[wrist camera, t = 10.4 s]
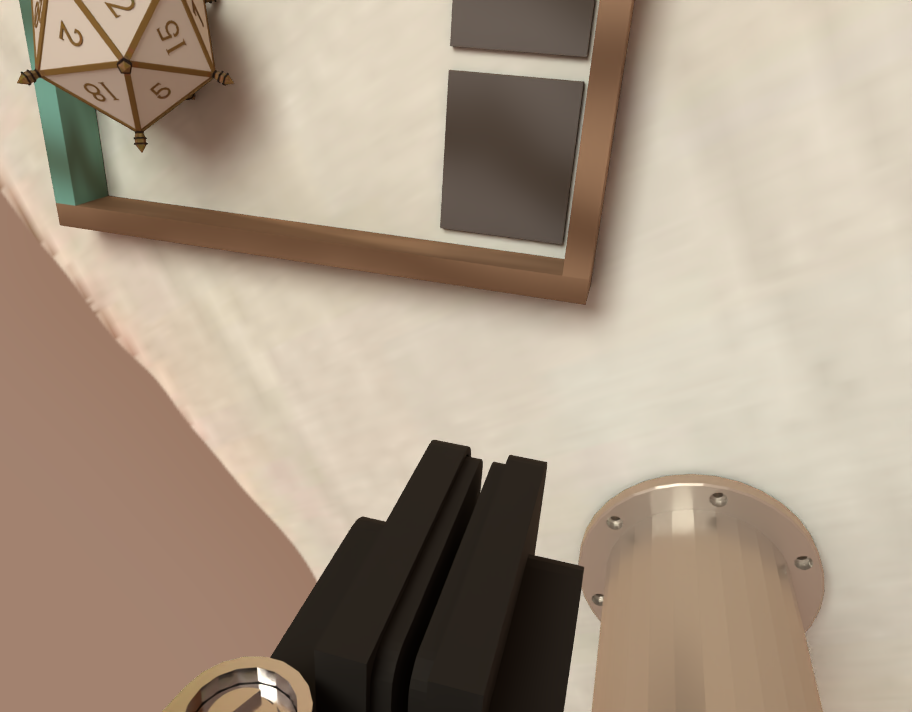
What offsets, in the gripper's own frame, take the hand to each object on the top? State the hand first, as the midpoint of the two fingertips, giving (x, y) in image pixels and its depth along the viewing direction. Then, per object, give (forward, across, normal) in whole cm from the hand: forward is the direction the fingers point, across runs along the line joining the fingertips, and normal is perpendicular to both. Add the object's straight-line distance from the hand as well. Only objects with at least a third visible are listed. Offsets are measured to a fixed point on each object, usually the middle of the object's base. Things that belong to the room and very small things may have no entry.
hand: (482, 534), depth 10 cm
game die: (+25, +21, -5) cm, 34 cm away
